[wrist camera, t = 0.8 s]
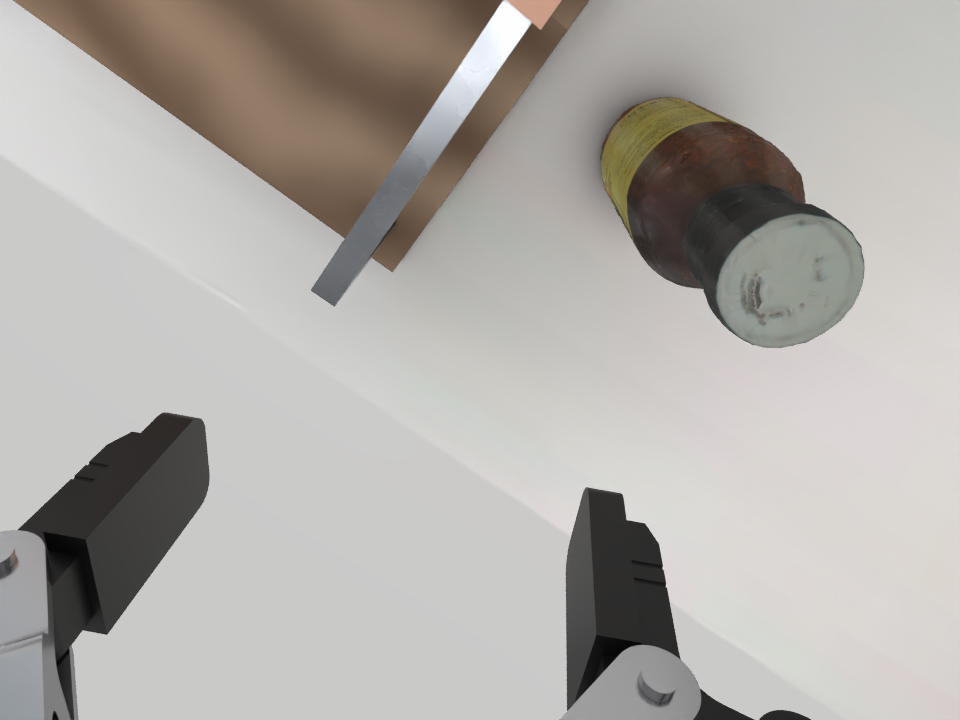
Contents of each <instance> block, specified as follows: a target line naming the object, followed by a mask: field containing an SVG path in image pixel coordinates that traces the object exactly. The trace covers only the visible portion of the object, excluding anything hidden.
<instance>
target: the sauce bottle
mask: <svg viewBox="0 0 960 720" xmlns="http://www.w3.org/2000/svg"><path fill="white" fill-rule="evenodd" d="M601 173H602V179H603V183H604V187H605V190H606V192H607V194H608V196H609V197H610V199H611V201H612V203H613V204H614V206H615V209H616V211H617V212H618V215H619V216H620V217H621V219H622V222H623V224H624V225H625V228H626V229H627V231H628V233H629V234H630V237H631V239H632V240H633V242H634V244H635V246H636V247H637V249H638V251H639V253H640V254H641V256H642V257H643V258H644V260H645V261H646V262H647V264H648V265H649V266H650V267H651V268H652V269H653V270H654V271H655V272H657V273H658V274H659V275H661V276H662V277H663V278H665V279H667V280H669V281H671V282H673V283H675V284H678V285H681V286H685V287H691V288H700V289H704V293H705V295H706V298H707V301H708V304H709V306H710V308H711V310H712V312H713V313H714V314H715V316H716V317H717V318H718V319H719V320H720V321H721V323H722V324H723V325H724V326H725V327H726V328H727V329H728V330H729V331H731V332H732V333H733V334H735V335H736V336H738V337H739V338H741V339H742V340H744V341H746V342H748V343H750V344H752V345H757V346H761V347H767V348H782V347H787V346H793V345H796V344H801V343H806V342H808V341H810V340H811V339H813V338H815V337H817V336H819V335H821V334H823V333H824V332H826V331H827V330H829V329H830V328H832V327H833V326H834V325H836V324H837V323H838V322H840V321H841V319H842V318H843V317H844V316H845V315H846V313H847V312H848V311H849V310H850V309H851V308H852V306H853V304H854V302H855V300H856V299H857V297H858V295H859V292H860V289H861V287H862V283H863V278H864V259H863V255H862V249H861V245H860V244H859V243H858V241H857V240H856V238H855V237H854V235H853V233H852V232H851V231H850V230H849V229H848V228H847V227H846V226H844V225H843V224H842V223H841V222H839V221H838V220H837V219H835V218H834V217H832V216H831V215H830V214H828V213H827V212H826V211H824V210H822V209H819V208H817V207H815V206H814V205H812V204H805V193H804V189H803V182H802V177H801V174H800V173H799V172H798V171H797V170H796V168H795V167H794V166H793V164H792V162H791V161H790V159H789V158H787V157H786V156H785V155H784V153H783V152H781V151H780V150H779V149H778V148H777V147H776V146H774V145H773V144H772V143H771V142H769V141H766V140H765V139H763V138H762V137H760V136H758V135H757V134H756V133H755V132H753V131H752V130H750V129H748V128H746V127H744V126H742V125H740V124H738V123H735V122H733V121H731V120H729V119H727V118H725V117H722V116H720V115H718V114H716V113H713V112H711V111H709V110H707V109H705V108H703V107H701V106H698V105H696V104H694V103H692V102H690V101H689V102H686V101H684V100H681V99H677V98H658V99H651V100H649V101H647V102H643V103H641V104H638V105H636V106H633V107H631V108H629V109H628V110H627V111H625V112H624V113H623V114H622V115H621V117H620V118H619V119H618V120H617V121H616V123H615V124H614V125H613V127H612V128H611V130H610V132H609V133H608V135H607V137H606V139H605V141H604V143H603V146H602V154H601Z"/></svg>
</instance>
